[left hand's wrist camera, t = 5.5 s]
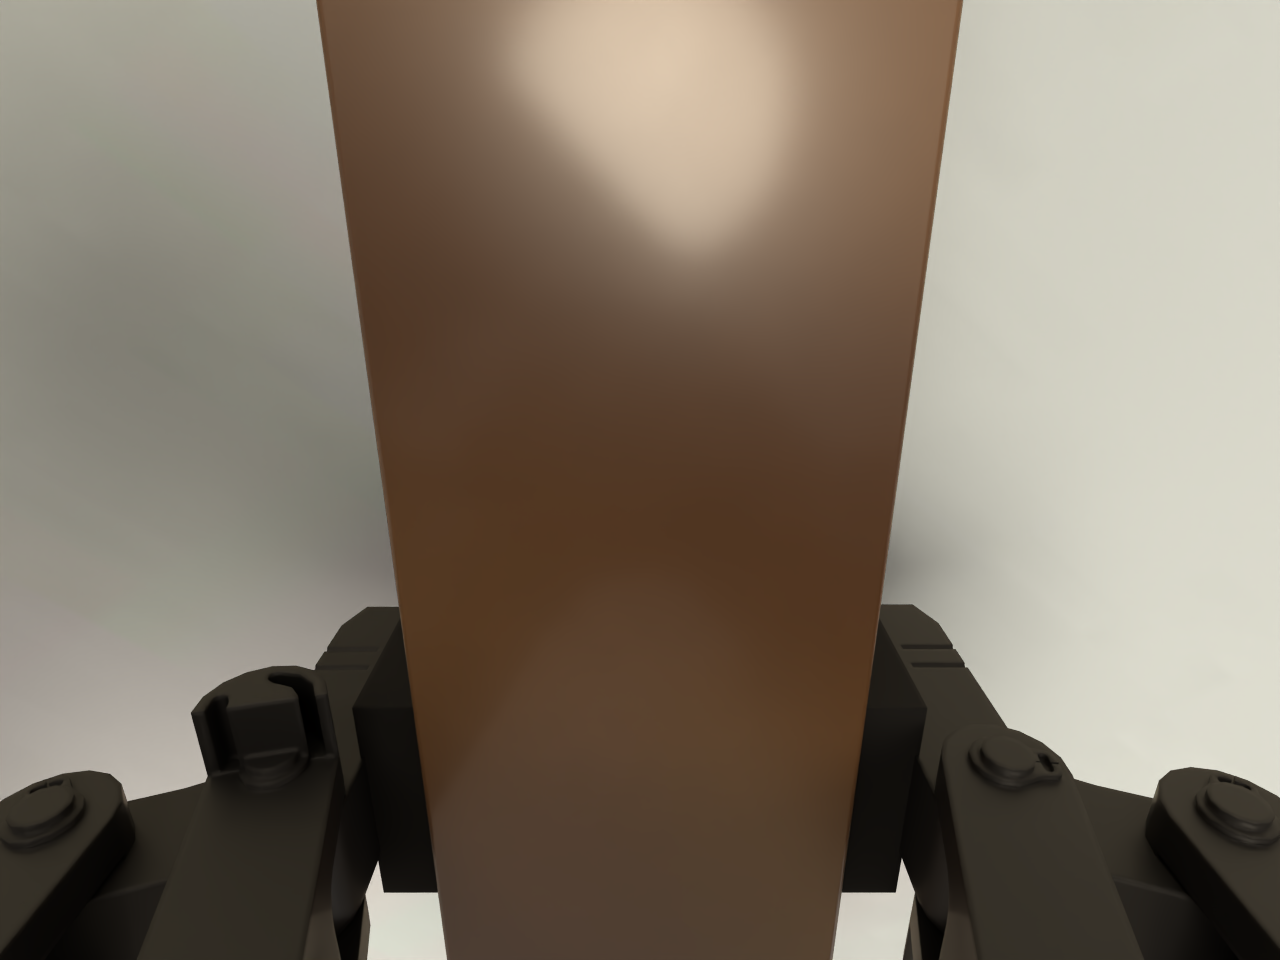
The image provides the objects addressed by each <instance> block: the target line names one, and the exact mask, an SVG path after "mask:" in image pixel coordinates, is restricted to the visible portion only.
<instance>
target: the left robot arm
mask: <svg viewBox="0 0 1280 960" xmlns="http://www.w3.org/2000/svg"><path fill="white" fill-rule="evenodd" d="M964 664H965V663H964V661H963V660H962V658H961V657H960V655H959V654H958V652H957V651H956V649H953V645H952V643H951V642H950V640H949V639H948V637H947V636H946V634H945V632H944V631H943V629H942V628H941V626H940V625H939V623H937V622H936V621H935V620H933V619H932V618H930V617H929V616H928V615H926V614H925V613H924V612H922V611H921V610H919V609H918V608H917V607H915V606H914V605H881V607H880V614H879V621H878V629H877V636H876V643H875V651H874V658H873V665H872V673H871V680H870V687H869V695H868V702H867V709H866V717H865V724H864V731H863V739H862V746H861V753H860V761H859V768H858V775H857V783H856V790H855V797H854V805H853V812H852V819H851V827H850V834H849V841H848V849H847V856H846V863H845V871H844V878H843V885H842V892H896V888H897V882H898V876H899V870H900V865H901V859H903V862H904V865H905V867H906V870H907V872H908V875H909V878H910V880H911V883H912V886H913V888H914V891H915V895H914V901H913V906H912V911H911V917H910V922H909V928H908V933H907V938H906V944H905V949H904V955H903V960H1280V798H1279V797H1278V796H1277V795H1275V794H1273V793H1271V792H1269V791H1267V790H1265V789H1263V788H1261V787H1259V786H1257V785H1255V784H1254V783H1252V782H1250V781H1248V780H1245V779H1242V778H1239V777H1237V776H1233V775H1230V774H1227V773H1224V772H1221V771H1218V770H1210V769H1202V768H1194V767H1189V768H1183V769H1177V770H1171V771H1170V772H1168V773H1167V774H1166V775H1165V776H1164V777H1163V778H1161V779H1160V780H1159V782H1158V785H1157V789H1156V792H1155V795H1154V798H1149V797H1145V796H1140V795H1136V794H1132V793H1127V792H1123V791H1118V790H1114V789H1109V788H1105V787H1101V786H1096V785H1093V784H1089V783H1086V782H1083V781H1079V780H1076V779H1074V778H1073V775H1072V774H1071V772H1070V771H1069V769H1068V768H1067V766H1066V765H1065V763H1064V762H1063V760H1062V759H1061V757H1059V756H1058V755H1057V754H1056V753H1054V752H1053V751H1052V750H1051V749H1050V748H1048V747H1047V746H1046V745H1045V744H1043V743H1042V742H1040V741H1038V740H1036V739H1034V738H1032V737H1030V736H1028V735H1026V734H1024V733H1022V732H1020V731H1016V730H1013V729H1009V728H1007V726H1006V725H1005V723H1004V722H1003V720H1002V719H1001V717H1000V716H999V714H998V713H997V711H996V710H995V708H994V707H993V705H992V704H991V702H990V701H989V699H988V698H987V696H986V695H985V693H984V692H983V690H982V689H981V687H980V686H979V684H978V682H977V681H976V679H975V678H974V676H973V675H972V673H971V672H970V670H969V669H968V668H965V665H964ZM315 666H316V668H315V670H310V669H307V668H303V667H299V666H272V667H268V668H263V669H259V670H255V671H250V672H247V673H244V674H242V675H240V676H237V677H235V678H233V679H231V680H228V681H226V682H224V683H222V684H221V685H219V686H218V687H216V688H215V689H214V690H212V691H211V692H209V693H208V694H206V695H205V696H204V697H203V698H202V699H201V700H200V702H199V703H198V704H197V705H196V707H195V708H194V709H193V711H192V712H191V716H192V719H193V723H194V727H195V730H196V734H197V738H198V741H199V745H200V749H201V753H202V756H203V760H204V764H205V767H206V771H207V775H208V777H207V779H206V782H204V783H201V784H198V785H194V786H191V787H188V788H184V789H180V790H176V791H171V792H167V793H162V794H158V795H154V796H149V797H145V798H140V799H136V800H132V801H127V800H126V797H125V793H124V790H123V787H122V784H121V783H120V782H119V781H117V780H116V779H115V778H114V777H113V776H112V775H111V774H108V773H102V772H96V771H90V770H89V771H81V772H73V773H65V774H61V775H58V776H55V777H52V778H49V779H45V780H42V781H40V782H37V783H34V784H32V785H30V786H28V787H26V788H24V789H22V790H20V791H18V792H16V793H14V794H13V795H11V796H9V797H7V798H5V799H3V800H2V801H1V802H0V960H367V954H368V944H369V933H370V919H369V912H368V906H367V901H366V895H365V894H366V891H367V888H368V886H369V883H370V880H371V878H372V875H373V872H374V870H375V867H376V865H377V862H378V861H379V867H380V873H381V879H382V885H383V890H384V893H417V892H438V889H437V881H436V874H435V867H434V859H433V852H432V845H431V838H430V830H429V823H428V816H427V808H426V801H425V794H424V786H423V779H422V772H421V764H420V757H419V750H418V742H417V735H416V728H415V720H414V713H413V706H412V698H411V691H410V684H409V676H408V669H407V662H406V654H405V647H404V640H403V632H402V625H401V618H400V610H399V607H367V608H365V609H364V610H363V611H361V612H360V613H358V614H357V615H356V616H354V617H353V618H351V619H350V620H349V621H347V622H346V623H345V624H343V625H342V626H341V627H340V629H339V630H338V632H337V633H336V635H335V636H334V638H333V640H332V641H331V643H330V644H329V646H328V647H327V652H324V653H323V655H322V656H321V658H320V659H319V661H318V662H317V664H316V665H315Z"/></svg>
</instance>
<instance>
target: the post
mask: <svg viewBox="0 0 1280 960" xmlns="http://www.w3.org/2000/svg"><path fill="white" fill-rule="evenodd" d="M316 3H317V10H318V17H319V24H320V32H321V39H322V46H323V54H324V61H325V68H326V76H327V83H328V90H329V98H330V105H331V112H332V120H333V127H334V134H335V142H336V149H337V156H338V164H339V171H340V178H341V186H342V193H343V200H344V208H345V215H346V222H347V230H348V237H349V244H350V252H351V259H352V266H353V274H354V281H355V288H356V296H357V303H358V310H359V317H360V325H361V332H362V339H363V347H364V354H365V361H366V369H367V376H368V383H369V391H370V398H371V405H372V413H373V420H374V427H375V435H376V442H377V449H378V457H379V464H380V471H381V479H382V486H383V493H384V501H385V508H386V515H387V523H388V530H389V537H390V545H391V552H392V559H393V567H394V574H395V581H396V588H397V596H398V603H399V610H400V618H401V625H402V632H403V640H404V647H405V654H406V662H407V669H408V676H409V684H410V691H411V698H412V706H413V713H414V720H415V728H416V735H417V742H418V750H419V757H420V764H421V772H422V779H423V786H424V794H425V801H426V808H427V816H428V823H429V830H430V838H431V845H432V852H433V859H434V867H435V874H436V881H437V889H438V896H439V903H440V911H441V918H442V925H443V933H444V940H445V947H446V955H447V960H832V959H833V951H834V944H835V937H836V929H837V922H838V915H839V907H840V900H841V893H842V885H843V878H844V871H845V863H846V856H847V849H848V841H849V834H850V827H851V819H852V812H853V805H854V797H855V790H856V783H857V775H858V768H859V761H860V753H861V746H862V739H863V731H864V724H865V717H866V709H867V702H868V695H869V687H870V680H871V673H872V665H873V658H874V651H875V643H876V636H877V629H878V621H879V614H880V607H881V599H882V592H883V585H884V578H885V570H886V563H887V556H888V548H889V541H890V534H891V526H892V519H893V512H894V504H895V497H896V490H897V482H898V475H899V468H900V460H901V453H902V446H903V438H904V431H905V424H906V416H907V409H908V402H909V394H910V387H911V380H912V372H913V365H914V358H915V350H916V343H917V336H918V328H919V321H920V314H921V306H922V299H923V292H924V284H925V277H926V270H927V262H928V255H929V248H930V240H931V233H932V226H933V218H934V211H935V204H936V196H937V189H938V182H939V174H940V167H941V160H942V153H943V145H944V138H945V131H946V123H947V116H948V109H949V101H950V94H951V87H952V79H953V72H954V65H955V57H956V50H957V43H958V35H959V28H960V21H961V13H962V6H963V0H316Z"/></svg>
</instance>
